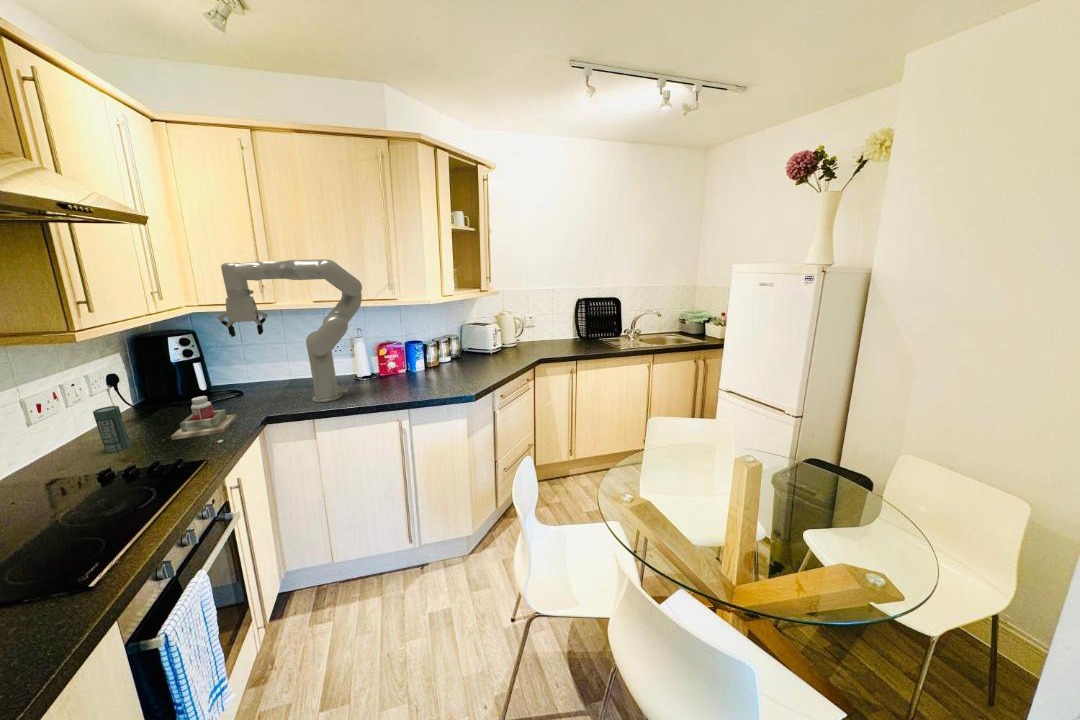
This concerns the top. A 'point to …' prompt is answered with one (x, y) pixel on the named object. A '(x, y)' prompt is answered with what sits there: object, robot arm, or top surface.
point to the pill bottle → (201, 408)
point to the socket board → (204, 425)
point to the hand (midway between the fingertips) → (247, 335)
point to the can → (111, 428)
